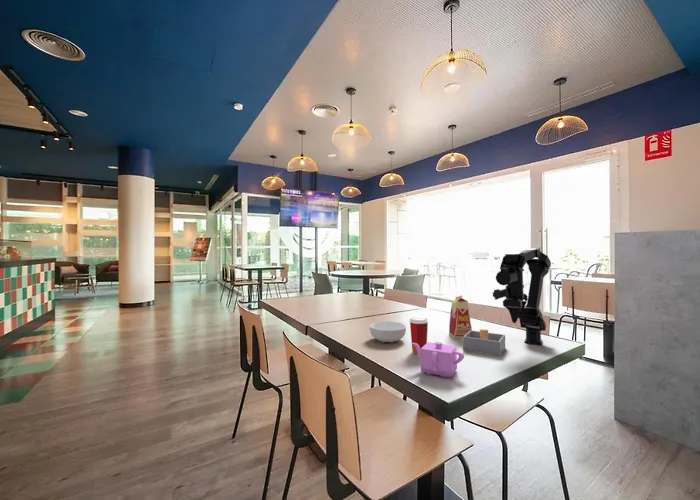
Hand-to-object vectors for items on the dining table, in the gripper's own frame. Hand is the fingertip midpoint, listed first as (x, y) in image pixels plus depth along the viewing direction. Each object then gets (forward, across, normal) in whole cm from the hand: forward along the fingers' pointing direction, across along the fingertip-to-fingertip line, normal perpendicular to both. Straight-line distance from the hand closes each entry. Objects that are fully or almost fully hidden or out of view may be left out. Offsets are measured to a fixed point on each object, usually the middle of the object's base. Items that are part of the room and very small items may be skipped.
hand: (516, 320), depth 124 cm
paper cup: (+12, +26, -32) cm, 43 cm away
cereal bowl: (+12, +19, -51) cm, 55 cm away
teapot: (+11, +41, -18) cm, 46 cm away
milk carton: (+12, -8, -26) cm, 30 cm away
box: (+12, +6, -11) cm, 18 cm away
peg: (+12, +6, -11) cm, 18 cm away
